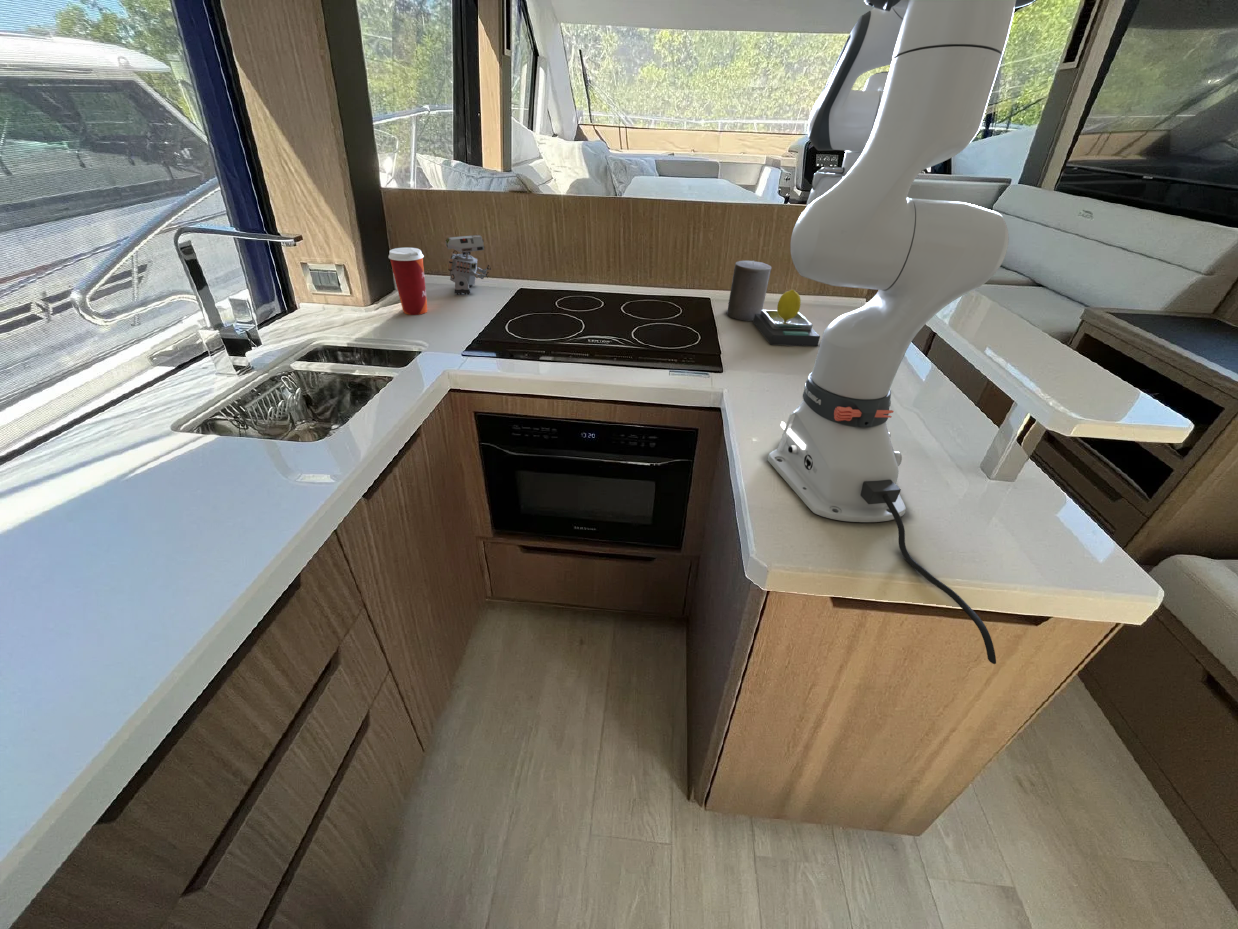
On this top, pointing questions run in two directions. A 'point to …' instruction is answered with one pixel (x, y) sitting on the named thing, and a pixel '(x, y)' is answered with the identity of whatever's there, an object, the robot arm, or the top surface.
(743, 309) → the pillar candle
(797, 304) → the lemon
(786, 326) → the scale pan
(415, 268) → the coffee cup
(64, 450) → the top surface
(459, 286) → the figurine
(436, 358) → the top surface
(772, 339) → the scale
